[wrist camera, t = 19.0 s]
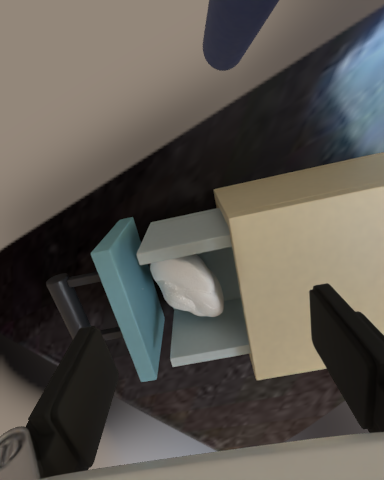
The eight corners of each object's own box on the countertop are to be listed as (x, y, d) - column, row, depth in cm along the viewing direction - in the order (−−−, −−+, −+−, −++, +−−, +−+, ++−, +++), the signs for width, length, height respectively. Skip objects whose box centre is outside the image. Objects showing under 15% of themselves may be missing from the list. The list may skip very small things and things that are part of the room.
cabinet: (234, 304, 25) (256, 380, 17) (213, 189, 21) (228, 218, 13) (376, 277, 24) (467, 344, 16) (382, 152, 20) (508, 159, 12)
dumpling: (229, 277, 22) (230, 324, 20) (172, 281, 23) (166, 325, 21) (211, 228, 16) (209, 286, 14) (137, 237, 18) (125, 291, 16)
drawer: (103, 330, 25) (75, 394, 19) (62, 231, 21) (9, 270, 15) (282, 296, 24) (316, 352, 18) (271, 186, 20) (308, 207, 14)
